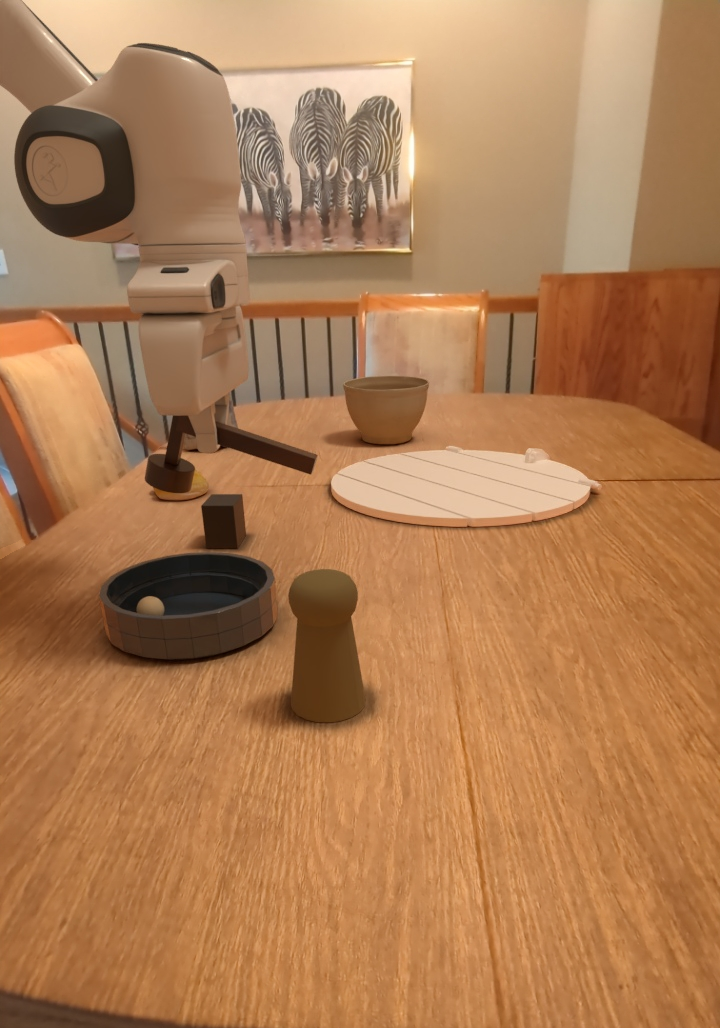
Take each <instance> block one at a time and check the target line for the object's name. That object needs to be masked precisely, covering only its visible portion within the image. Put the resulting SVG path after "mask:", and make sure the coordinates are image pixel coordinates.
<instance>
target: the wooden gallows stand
mask: <svg viewBox="0 0 720 1028" xmlns="http://www.w3.org/2000/svg"><path fill="white" fill-rule="evenodd" d="M171 417H172V418H171V424H170V429H169V435H168V438H167V439H168V440H167V445H166V449H165V450H166V451H165V453H153V454H150V455H148V457H147V462H146V466H145V467H146V468H145V473H144V481H145V483H146V484H147V485H149V486H150V487H152V488H153V487H154V488H156V489H159V490H162V491H165V492H170V493H187V492H189V491H190V490H191V487H192V482H193V477H194V472H195V469H196V466H195V465H194V464H193V463H191V462H190V461H189V460H187V459H185V458H182V453H183V449H184V439H185V434H188V435H191V436H195V437H196V433H195V432H194V429H193V427H192V424H191V422H190V419H189V417H188V415H184V416H171ZM215 424H216V429H217V430H219V437H220V446H221V447H223V446H225V447H226V448H228V449H231V450H234V451H238V452H240V453H244V454H247V455H249V456H253V457H255V458H258V459H262V460H264V461H268V462H271V463H273V464H277V465H280V466H283V467H286V468H289V469H292V470H294V471H299V472H301V473H303V474H308V475H312V474H313V472H314V471H315V467H316V463H317V459H318V456H319V455H318V454H317V453H313V452H311V451H308V450H306V449H305V450H304V449H302V448H298V447H295V446H293V445H289V444H287V443H283V442H280V441H277V440H275V439H271V438H269V437H265V436H262V435H259V434H256V433H253V432H250V431H247V430H244V429H240V428H239V427H238V428H235V427H232V426H229V425H226V424H223V423H220V422H217V421H215ZM225 447H224V448H225Z"/></svg>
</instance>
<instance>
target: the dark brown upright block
mask: <svg viewBox="0 0 720 1028" xmlns="http://www.w3.org/2000/svg"><path fill="white" fill-rule="evenodd" d="M244 507H245V506H244V498H243V493H213V494H212V493H211V494H210V496H208V498H207V499H206V500H205V501H204V502H202V504H201V506H200V508H201V517H202V525H203V532H204V533H203V534H204V540H205V548H206V549H232V550H233V549H234V550H235V549H237V550H238V549H239V548H240V546H241V544H242V542H243V541H244V540H245V538H246V537H247V528H246V520H245V509H244Z"/></svg>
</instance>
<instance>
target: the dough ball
mask: <svg viewBox="0 0 720 1028" xmlns="http://www.w3.org/2000/svg"><path fill="white" fill-rule="evenodd" d="M137 613H139V614H148V615H161V616H163V614H164V605H163V603H162V602H161V601H160V600H159V599H158V598H156V597H153V596H148V597H145V598H143V599H141V600H140V601H139V603H138V605H137Z"/></svg>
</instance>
